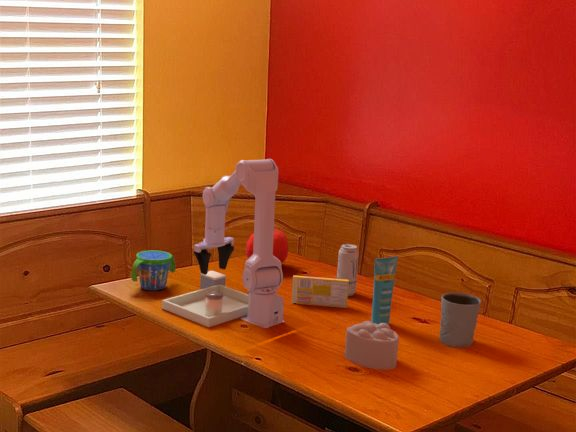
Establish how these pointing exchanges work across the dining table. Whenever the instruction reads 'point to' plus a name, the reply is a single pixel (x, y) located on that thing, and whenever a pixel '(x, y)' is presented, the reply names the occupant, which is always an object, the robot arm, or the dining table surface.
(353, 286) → the energy drink can
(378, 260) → the tube
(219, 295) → the jar
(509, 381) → the dining table surface
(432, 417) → the dining table surface
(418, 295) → the dining table surface
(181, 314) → the white square tray
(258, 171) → the robot arm
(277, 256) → the tomato
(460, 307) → the grey tapered cup
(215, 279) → the pale pink block
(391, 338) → the lumpy-topped squat cylinder
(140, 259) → the snack cup
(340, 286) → the candy box
